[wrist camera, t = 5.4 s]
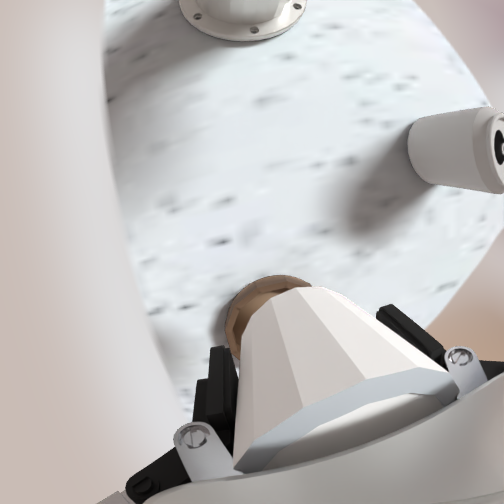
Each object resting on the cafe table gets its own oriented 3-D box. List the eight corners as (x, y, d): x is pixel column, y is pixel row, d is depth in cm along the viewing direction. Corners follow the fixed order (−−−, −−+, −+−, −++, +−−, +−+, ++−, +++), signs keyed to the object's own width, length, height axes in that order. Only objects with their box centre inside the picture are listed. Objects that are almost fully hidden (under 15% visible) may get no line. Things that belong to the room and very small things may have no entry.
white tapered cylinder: (370, 376, 13) (433, 470, 7) (244, 410, 13) (257, 527, 6) (368, 255, 12) (486, 327, 5) (209, 291, 11) (192, 422, 5)
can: (403, 109, 24) (484, 90, 12) (451, 127, 25) (528, 123, 13) (400, 177, 26) (485, 187, 14) (448, 188, 27) (527, 204, 15)
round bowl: (216, 287, 27) (215, 296, 25) (319, 265, 28) (326, 272, 26) (238, 368, 30) (239, 380, 28) (327, 348, 30) (332, 358, 28)
